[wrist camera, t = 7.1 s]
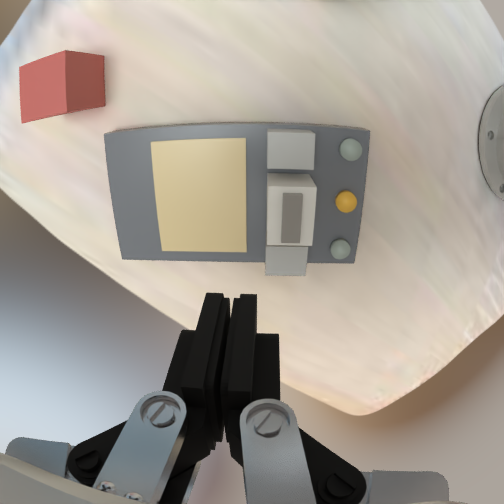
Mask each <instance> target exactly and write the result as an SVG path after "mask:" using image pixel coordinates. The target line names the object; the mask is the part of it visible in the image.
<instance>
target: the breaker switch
mask: <svg viewBox="0 0 504 504" xmlns="http://www.w3.org/2000/svg"><path fill="white" fill-rule="evenodd" d="M316 192H317V187H316V185H315V183H314V182H313V180H312V178H311V176H310V175H309V174H290V173H267V245H293V246H312V242H313V231H314V219H315V206H316Z"/></svg>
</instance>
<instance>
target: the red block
mask: <svg viewBox="0 0 504 504" xmlns="http://www.w3.org/2000/svg"><path fill="white" fill-rule="evenodd" d="M19 76H20V106H21V120H22V123H26V122H30V121H35V120H39V119H43V118H48V117H53V116H57V115H62V114H67V113H72V112H76V111H81V110H87V109H92V108H97V107H103V106H105V84H104V56H101V55H95V54H89V53H82V52H75V51H67V50H65V51H62V52H59V53H56V54H53V55H50V56H47V57H44V58H41V59H39V60H36V61H33V62H31V63H28V64H26V65H23V66H21V67H19Z"/></svg>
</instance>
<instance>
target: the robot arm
mask: <svg viewBox="0 0 504 504" xmlns="http://www.w3.org/2000/svg"><path fill="white" fill-rule="evenodd" d="M479 153H480V161H481V165H482V170H483V173H484V175H485V178H486V181H487V183H488V184H489V186H490V188H491V189H492V191H493V192H494V193H495V194H496V195H497V196H498V197H499V198H501V199H502V200H504V86H502V87H500V88H499V89H498V90H497V91H496V92H494V94H493V95H492V96H491V98H490V99H489V101H488V103H487V105H486V107H485V110H484V112H483V116H482V120H481V125H480V132H479ZM224 426H225V433H226V440H227V442H229V445H230V452H231V457H232V458H233V459H235V460H236V461H237V462H238V463H239V464H240V465H241V466H242V467H243V476H244V484H245V493H246V503H247V504H467V503H462V502H454V501H449V488H448V482H447V480H446V479H445V478H444V476H443V475H441V474H439V473H437V472H431V471H426V472H425V471H423V472H408V471H379V470H373V471H372V472H360V471H359V470H358V469H357V468H355V467H354V466H352V465H351V464H349V463H348V462H346V461H345V460H343V459H342V458H340V457H339V456H338V455H336V454H335V453H333V452H332V451H330V450H329V449H328V448H326V447H325V446H323V445H322V444H321V443H319V442H317V441H316V440H315V439H314V438H312V437H311V436H309V435H308V434H307V433H305V432H304V431H303V430H302V429H300V428H299V427H298V424H297V419H296V416H295V414H294V411H293V410H292V409H291V408H290V407H289V406H288V405H287V404H285V403H284V402H282V401H280V360H279V334H263V333H257V294H240V298H234V301H233V307H232V313H231V317H230V299H229V298H224V295H223V293H206V296H205V299H204V303H203V306H202V310H201V313H200V317H199V321H198V324H197V328H196V330H182V331H181V333H180V336H179V339H178V342H177V345H176V349H175V352H174V355H173V358H172V361H171V364H170V367H169V370H168V373H167V377H166V380H165V383H164V386H163V390H162V391H156V392H152V393H150V394H147V395H145V396H144V397H143V398H141V399H140V401H139V402H138V403H137V404H136V406H135V408H134V410H133V412H132V413H131V415H130V417H129V419H128V420H127V421H125V422H123V423H121V424H119V425H117V426H115V427H113V428H111V429H109V430H107V431H105V432H103V433H100V434H98V435H96V436H94V437H92V438H90V439H88V440H86V441H83V442H81V443H80V444H78V445H77V446H71V445H70V444H69V443H63V442H53V441H46V440H38V439H31V438H24V437H19V438H16V439H14V440H12V441H11V442H10V443H9V445H8V447H7V449H6V453H5V454H3V453H0V504H187V502H188V499H189V496H190V493H191V490H192V488H193V485H194V482H195V479H196V476H197V474H198V471H199V468H200V465H201V460H202V459H204V458H205V457H207V456H208V455H210V451H211V450H215V446H216V442H222V439H223V431H224Z"/></svg>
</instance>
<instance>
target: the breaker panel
mask: <svg viewBox="0 0 504 504" xmlns="http://www.w3.org/2000/svg"><path fill="white" fill-rule="evenodd" d="M369 139H370V131H369V130H366V129H363V128H357V127H347V126H335V125H321V124H304V123H278V122H221V123H195V124H178V125H164V126H153V127H142V128H133V129H124V130H116V131H112V132H109V133H105V134H104V141H105V151H106V161H107V169H108V177H109V185H110V192H111V199H112V205H113V212H114V218H115V224H116V229H117V235H118V240H119V246H120V251H121V256H122V259H127V260H168V261H217V262H265V275H277V276H305V275H306V265H307V263H354V261H355V255H356V249H357V243H358V236H359V229H360V222H361V215H362V207H363V199H364V191H365V182H366V173H367V162H368V151H369ZM267 173H290V174H309V175H310V176H311V178H312V180H313V182H314V183H315V185H316V187H317V192H316V206H315V219H314V231H313V242H312V246H293V245H267Z"/></svg>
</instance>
